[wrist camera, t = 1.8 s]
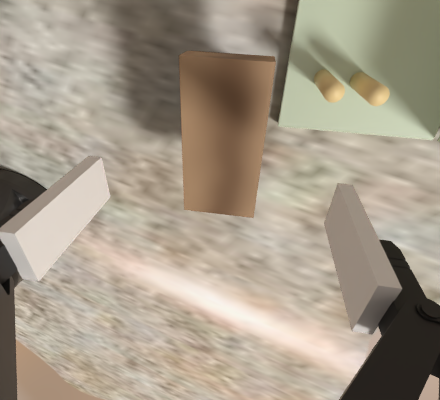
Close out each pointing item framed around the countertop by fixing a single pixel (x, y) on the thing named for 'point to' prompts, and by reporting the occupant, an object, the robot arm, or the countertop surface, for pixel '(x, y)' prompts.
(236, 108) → the shelf board
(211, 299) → the countertop surface
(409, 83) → the cabinet
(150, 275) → the countertop surface
